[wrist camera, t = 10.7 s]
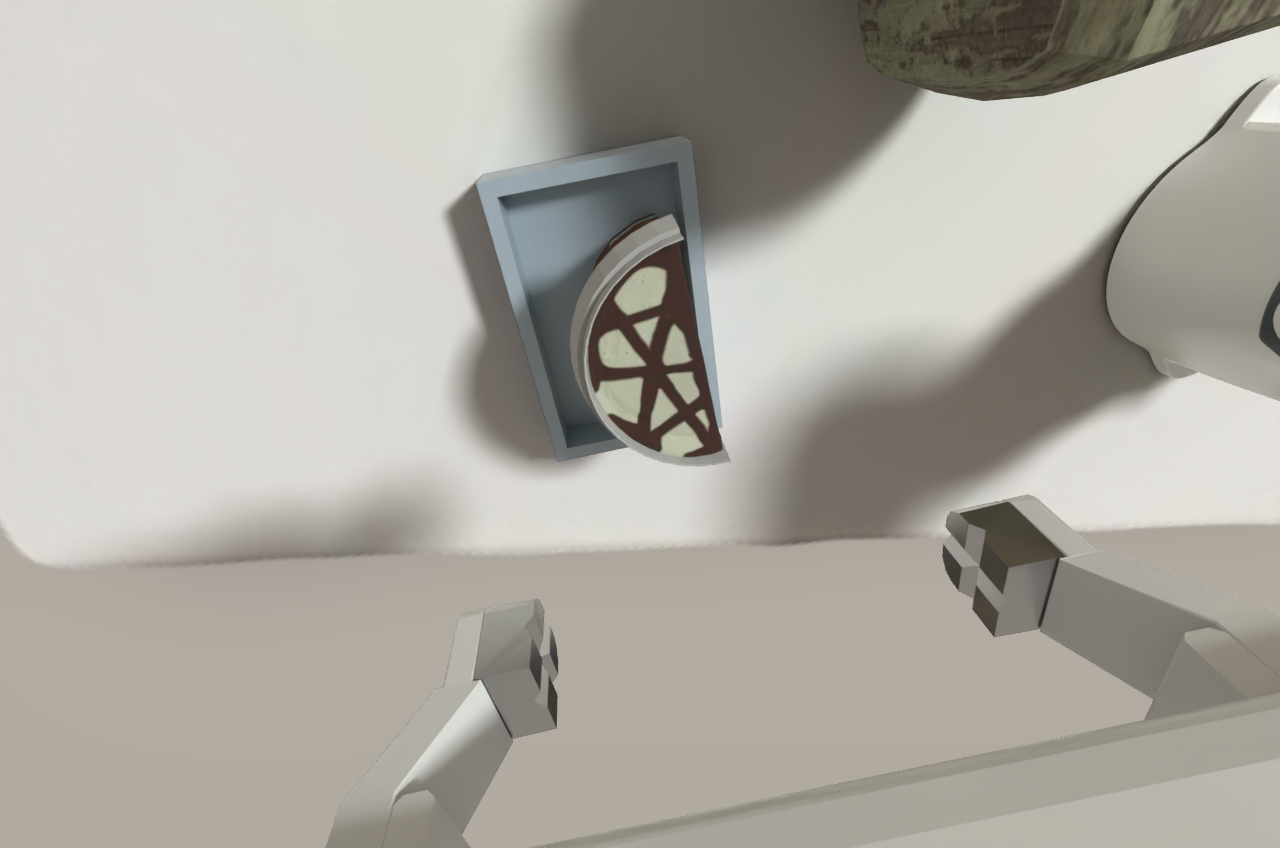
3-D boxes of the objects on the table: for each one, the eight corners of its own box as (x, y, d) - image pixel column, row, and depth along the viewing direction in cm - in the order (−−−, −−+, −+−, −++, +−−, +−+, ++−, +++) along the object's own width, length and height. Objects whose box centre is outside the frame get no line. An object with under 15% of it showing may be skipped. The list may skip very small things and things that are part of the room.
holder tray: (680, 135, 31) (691, 140, 28) (711, 404, 39) (722, 427, 37) (483, 174, 31) (475, 182, 28) (557, 435, 39) (557, 461, 36)
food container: (537, 217, 31) (529, 268, 23) (647, 185, 31) (680, 223, 23) (601, 407, 38) (614, 502, 29) (693, 381, 38) (732, 470, 29)
